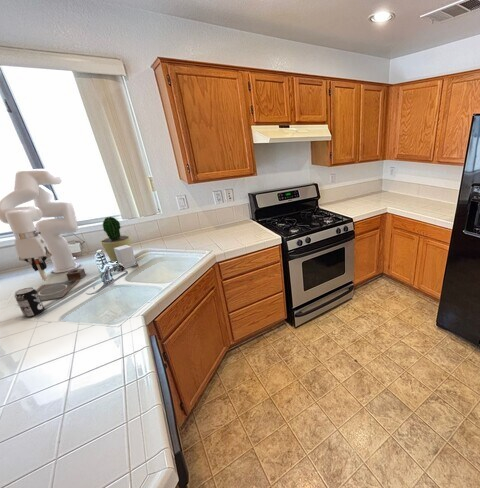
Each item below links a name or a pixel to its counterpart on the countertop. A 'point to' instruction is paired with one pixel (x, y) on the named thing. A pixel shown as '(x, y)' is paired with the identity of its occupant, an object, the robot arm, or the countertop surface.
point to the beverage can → (29, 302)
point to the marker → (40, 270)
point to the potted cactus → (113, 237)
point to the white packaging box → (125, 256)
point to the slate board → (55, 290)
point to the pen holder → (76, 274)
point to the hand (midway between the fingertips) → (40, 269)
